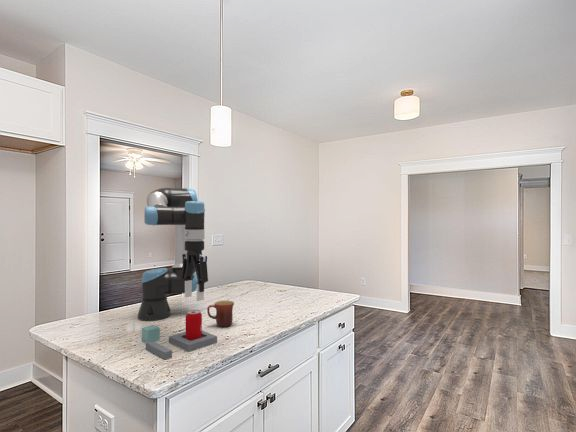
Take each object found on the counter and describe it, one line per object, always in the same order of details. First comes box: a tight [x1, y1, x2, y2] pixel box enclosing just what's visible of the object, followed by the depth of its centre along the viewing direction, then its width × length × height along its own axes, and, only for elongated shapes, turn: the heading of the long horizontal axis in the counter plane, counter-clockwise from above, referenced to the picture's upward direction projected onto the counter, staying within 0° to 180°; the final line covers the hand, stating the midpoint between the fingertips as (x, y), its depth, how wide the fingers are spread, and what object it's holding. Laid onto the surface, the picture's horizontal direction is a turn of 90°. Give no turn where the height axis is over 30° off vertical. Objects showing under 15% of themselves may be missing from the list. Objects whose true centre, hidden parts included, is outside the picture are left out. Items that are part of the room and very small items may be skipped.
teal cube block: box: [141, 324, 161, 343], centre depth 135 cm, size 5×5×5 cm
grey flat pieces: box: [145, 330, 218, 360], centre depth 129 cm, size 14×22×2 cm, turn 139°
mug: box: [206, 300, 235, 328], centre depth 154 cm, size 12×9×10 cm
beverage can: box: [185, 309, 203, 341], centre depth 133 cm, size 6×6×12 cm
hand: (194, 298), depth 133 cm, fingers open, 8 cm apart
